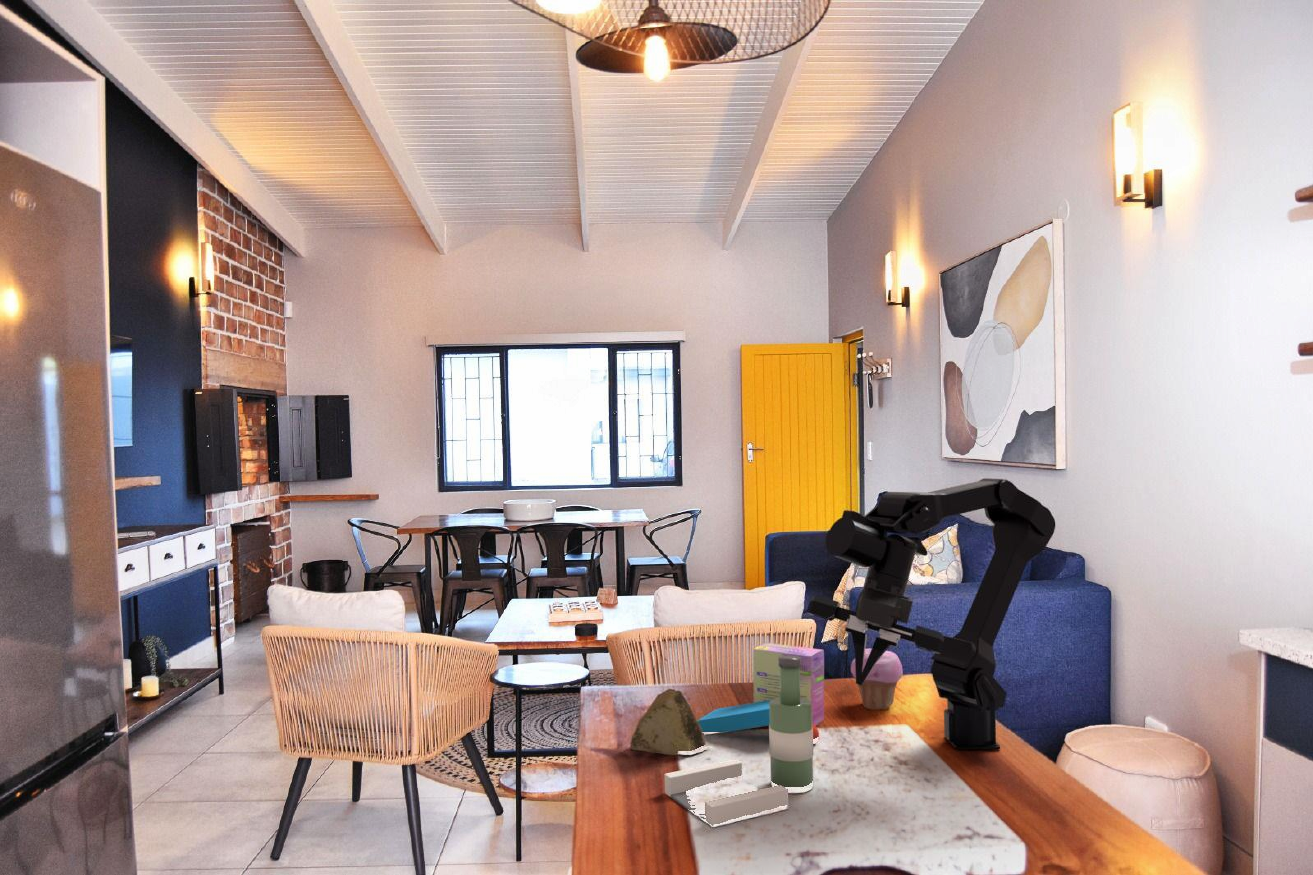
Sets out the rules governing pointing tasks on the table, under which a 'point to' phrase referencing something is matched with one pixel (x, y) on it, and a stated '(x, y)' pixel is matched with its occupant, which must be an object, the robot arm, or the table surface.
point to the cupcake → (880, 681)
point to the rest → (726, 806)
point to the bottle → (790, 729)
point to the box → (810, 675)
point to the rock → (668, 726)
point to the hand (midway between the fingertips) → (858, 684)
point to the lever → (740, 718)
